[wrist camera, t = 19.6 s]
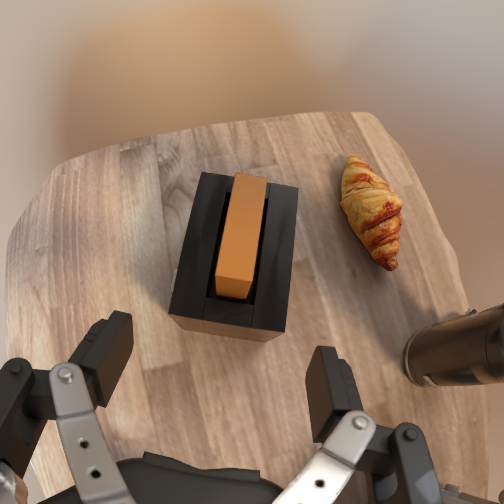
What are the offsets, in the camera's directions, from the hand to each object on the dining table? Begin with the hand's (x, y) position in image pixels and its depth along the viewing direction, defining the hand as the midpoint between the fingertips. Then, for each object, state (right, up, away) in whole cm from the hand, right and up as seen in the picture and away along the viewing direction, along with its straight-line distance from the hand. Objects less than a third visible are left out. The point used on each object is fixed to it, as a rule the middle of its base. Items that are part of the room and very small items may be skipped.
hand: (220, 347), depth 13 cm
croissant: (+20, +10, +36) cm, 42 cm away
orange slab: (0, +3, +23) cm, 23 cm away
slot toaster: (-1, 0, +29) cm, 29 cm away
